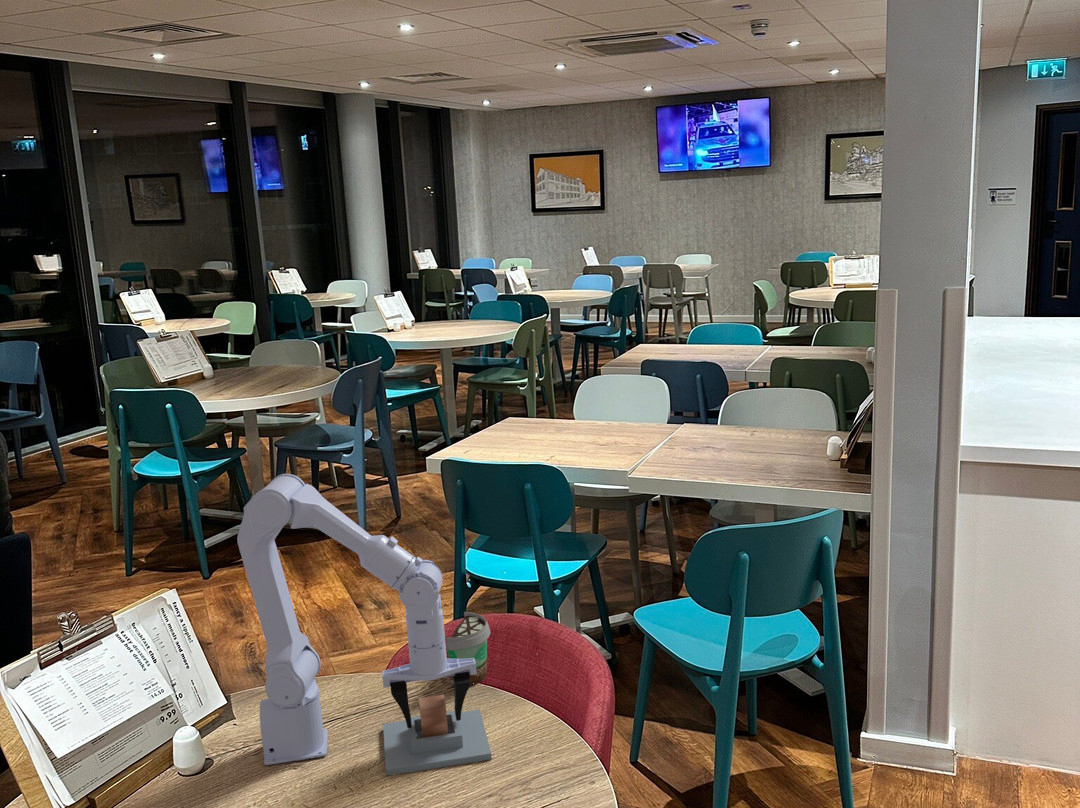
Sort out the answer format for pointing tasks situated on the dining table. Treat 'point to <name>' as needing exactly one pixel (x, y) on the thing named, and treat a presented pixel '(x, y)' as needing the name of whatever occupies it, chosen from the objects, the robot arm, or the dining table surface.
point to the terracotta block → (433, 716)
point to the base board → (435, 744)
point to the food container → (470, 644)
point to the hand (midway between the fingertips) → (433, 721)
